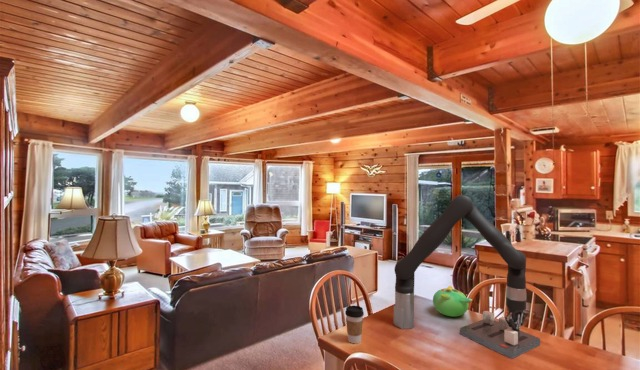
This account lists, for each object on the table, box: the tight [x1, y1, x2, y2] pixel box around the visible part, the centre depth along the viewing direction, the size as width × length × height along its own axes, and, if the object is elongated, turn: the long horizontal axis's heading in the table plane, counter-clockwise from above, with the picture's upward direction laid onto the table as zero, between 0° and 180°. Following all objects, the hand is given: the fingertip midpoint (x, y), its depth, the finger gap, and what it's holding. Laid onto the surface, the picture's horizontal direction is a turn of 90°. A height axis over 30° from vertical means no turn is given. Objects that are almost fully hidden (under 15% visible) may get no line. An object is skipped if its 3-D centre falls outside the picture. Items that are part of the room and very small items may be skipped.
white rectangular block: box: [504, 328, 518, 345], centre depth 134 cm, size 3×4×5 cm
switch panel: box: [459, 310, 541, 360], centre depth 143 cm, size 22×24×8 cm
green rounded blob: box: [432, 285, 473, 317], centre depth 169 cm, size 18×17×15 cm
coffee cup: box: [344, 305, 365, 344], centre depth 142 cm, size 8×8×15 cm
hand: (515, 336), depth 136 cm, fingers closed
